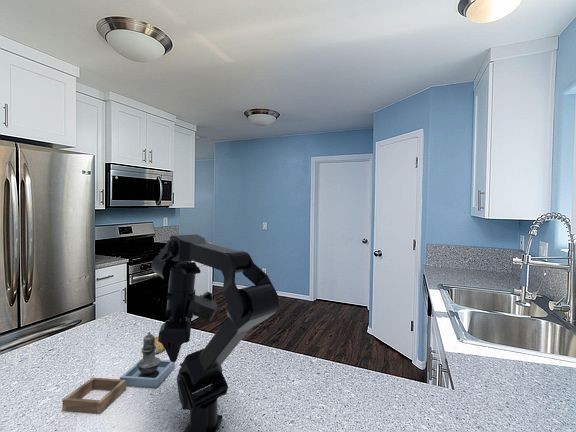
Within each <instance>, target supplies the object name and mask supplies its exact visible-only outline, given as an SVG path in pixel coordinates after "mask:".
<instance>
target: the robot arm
mask: <svg viewBox="0 0 576 432" xmlns="http://www.w3.org/2000/svg"><path fill="white" fill-rule="evenodd" d="M196 263H198V264H201V265H204V266H207V267H210V268H213V269H215V270H218V271H221V273H222V275H223V283H222V284H223V285H222V295H223V297H224V299H225V301H226V307H225V310H226V314H227V317H226V318H225V320H224V321H223V322H222V324H220V326H219V328H218V329H217V331H216V332H215V334H214V335H213V336H212V337H211V339H210V340H209V342H208V343H207V344H206V346H205V347H204V348H202V349H199V350H197V351H194V352H192V353H188V354H187V355H186V356H185V357H184V359H183V362H181V363H179V366H180V367H179V370H178V373H177V376H176V384H177V390H178V399H179V403H181V409H182V410H183V411H189V422H188V423H187V426H186V427H185V428H184V431H183V432H218V429H219V427H220V425H221V423H222V420H223V417H224V416H223V415H221V414H218V406H219V405H218V403H219V402H218V401H219V400H218V399H219V398H220V397H223V396H225V395H227V393H228V390H229V386H228V383H227V380H226V379H225V376H224V373H223V372H224V371H223V367H222V364H223V363H224V362H225V361H226V359H227V358H228V357H229V356H230V355H231V354H232V352H233V350H235V348H236V347H237V346H238V345H239V344H240V342H242V340H243V338H245V336H246V335H247V334H248V333H249V331H251V330H252V328H254V327H256V326H257V325H259V324H261V323H262V322H264V321H266V320H267V319H269V318H271V316H273V315H274V314H276V312H277V311H278V309H279V307H280V303H279V295H278V293H277V290H276V289H275V287H274V285H273V283H272V281H271V280H270V277H269V276H268V274H267V273H266V272H265V271H263V269H261V268H260V267H259V266H258V265H256V264H255V262H254V261H253V259H252V257H251V255H250V253H248V252H247V251H244V250H236V249H231V248H228V247H224V246H220V245H216V244H212V243H208V242H207V241H206V238H204V237H203V236H201V235H199V234H194V233H193V234H179V235H177V234H175V235H170V236H169V240H168V241H166V243H165V245H164V247H163V248H161V249H160V251H159V253H158V254H157V255H156V256H155V257H154V259H153V260H152V262H151V265H150V266H151V267H150V268H151V269H152V271H153V272H154V273H155V274H156V275H158V277H160V278H162V279H164V280H165V281H167V282H168V288H167V293H166V297H165V298H166V299H165V300H167V301H166V310H165V313H164V317H165V318H169V321H168V320H166V321H164V323H162V324H161V326H160V328H159V331H158V336H157V337H158V342H160V343H162V345H163V347H164V348H165V349H164V351H165V352H166V354H167V356H168V358H169V360H170V361H171V362H175V363H176V362H177V360H178V356H179V354H180V350H181V348H182V345H183V344H187V343H189V342H190V339H191V332H192V324H191V323H190V322H188V321H187V320H188V319H193V318H194V317H198V318H201V319H203V320H205V321H207V322H211V321H212V320H213V318H214V316H215V314H216V312H217V310H218V303H217V302H216V300H215V299H213V293H212V292H209V291H206V292H204V293H203V294H200V295H197V294H196V289H195V284H196V275H197V274H200V273H201V269H200V266H198V265H197V264H196ZM238 273H239V274H240V273H242V275H243V276H244V277H245V278H246V279H248V280H249V281H250V282H251V283H252V284H253V285H252V286H246V287H242V288H238V287H237V285H236V283H235V282H236V274H238Z"/></svg>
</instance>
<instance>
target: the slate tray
mask: <svg viewBox="0 0 576 432" xmlns="http://www.w3.org/2000/svg"><path fill="white" fill-rule="evenodd" d="M140 360H142V358H141V359H140ZM160 360H161V361H160V363H159V366H158V368H157V369H156V370H157V371H159V375H158V376H157V377H156V378H147V377H138V376H139V374H140V373H141V372H140V371H139V369H138V366H137V363H138V362H139V361H137V362H136V363H135V364H134V365H133V366H131V367H130V368H129V369H128V370H127V371H126V372H125V373H123V374H122V375H120V377H119V379H121V380H126V387H130V386H135V388H144V387H145V389H158V388H159V386H160V385H161V384H162V383H164V381H165V380H166V378H168V376H170V374H171V373H172V372H173V371H174V369H175V368H176V366H175V365H176V362H171V361H170V359H169V360H168V359H167V360H166V359H160Z"/></svg>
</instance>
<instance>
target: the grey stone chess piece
mask: <svg viewBox="0 0 576 432" xmlns="http://www.w3.org/2000/svg"><path fill="white" fill-rule="evenodd" d="M155 337H156V336H155V335H153V334H151V332H150V331H148V333H147V335H145V336H143V343H142V345H143V346H142V347H141V349H142V350H141V352H142V351H143V352H142V357H141V359H142V360H141V359H139V360H138V361H137V362H138V363H137V362H136V363H137V366H138V369H139V371H140V372H141V373H140V374H139V376H138V377H147V378H156V377H157V376H158V375H159V371H157V370H156V369H157V368H158V366H159V363H160V361H161V360H162V359H160V357H156V354H155V349H156V346H155Z"/></svg>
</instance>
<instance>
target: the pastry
mask: <svg viewBox="0 0 576 432" xmlns="http://www.w3.org/2000/svg"><path fill="white" fill-rule="evenodd" d="M154 337H155V346H156V349H155V355H156V354H159V353H162V352H163V351H165V348H164V347H163V345H162V343H160V342H158V337H159V336H154ZM141 353H143V351H142V348H141Z"/></svg>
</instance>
